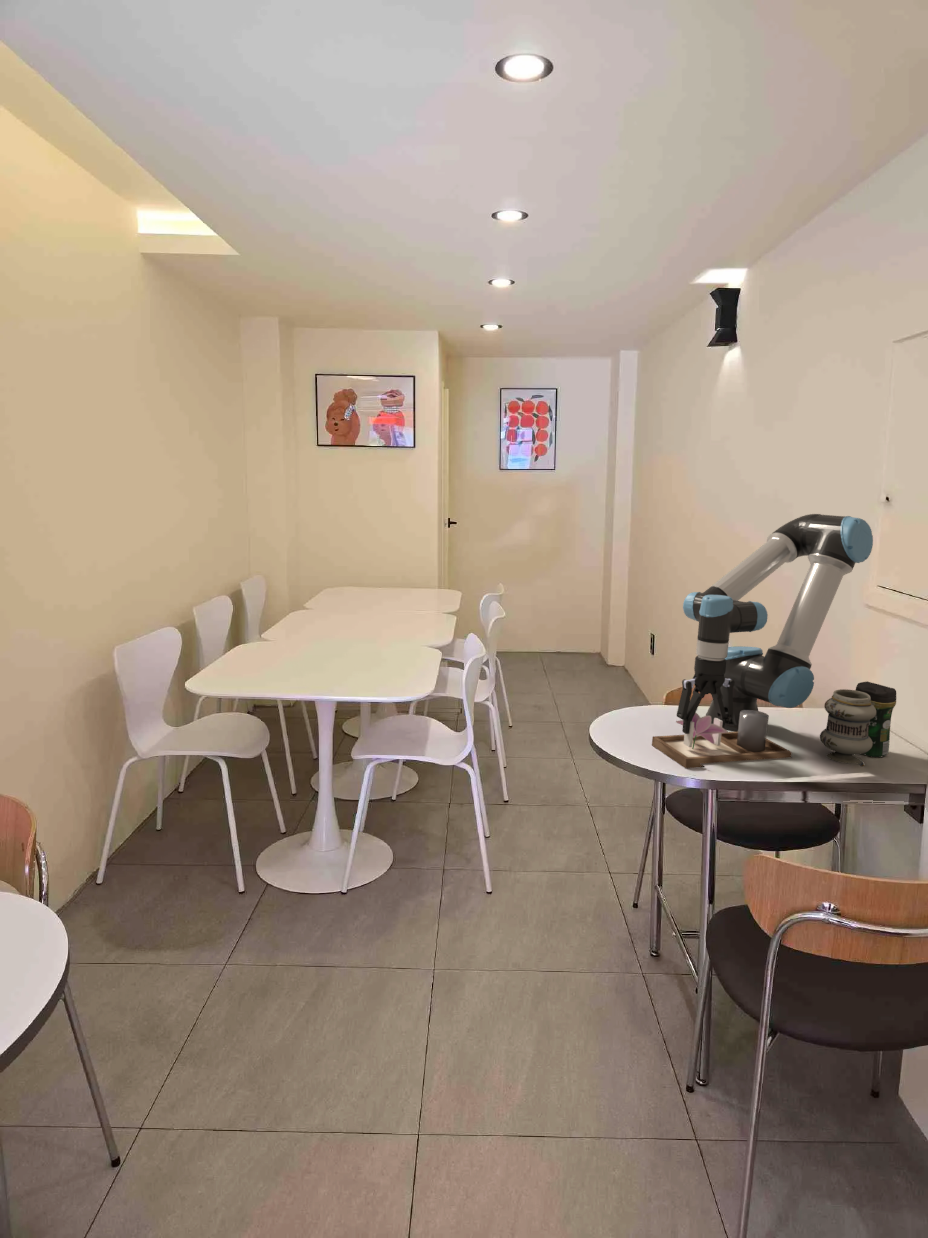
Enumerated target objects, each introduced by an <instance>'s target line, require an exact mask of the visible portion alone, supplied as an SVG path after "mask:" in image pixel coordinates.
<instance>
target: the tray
mask: <svg viewBox="0 0 928 1238" xmlns="http://www.w3.org/2000/svg"><path fill="white" fill-rule="evenodd" d="M737 735H738V732H737V731H728V733H721V742H720V746H717V745H715V744H712V743H711V742H709V741H708V740H707V739H705V738H704V737H702V736H698V737H696V739H695V737H694V738H693V741H692V747H688V746H686V745H685V744H684V734H672V735H657V736H654V735H653V736H652V739H651V740H652V741H651V746H653V747H654V748H655V749H656V750H658V751H659V752H661V753H662V754H664V755H665V756H666V757H668V758H670V760H672V761H674V762H676V763H677V764H678V765H680V766H681V767H683V768H684V769H694V768H695V769H697V768H706V766H705V765H704V764H715V763H716V764H717V763H728V762H729V763H730V762H742V761H743V762H744V761H758V760H759V761H760V760H772V759H787V758H792V753H793V752H792V751H791V750H789V749H787V748H785V747H783V746H781V745H779V744H777V743H776V742H774V741H772V740H770V739H768V738H766V744H765V750H764V751H762V752H750V751H747V750H745V749H744V748H742V747H740V746H738V745H737ZM694 739H695V744H694V749H692V748H693V743H694Z"/></svg>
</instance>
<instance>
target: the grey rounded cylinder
mask: <svg viewBox="0 0 928 1238" xmlns="http://www.w3.org/2000/svg"><path fill="white" fill-rule="evenodd" d="M768 725H769V714H768V713H765V712H764V711H759V710H758V711H755V710H743V711H740V717H739V726H738V735H737V745H738V746H740V747H742V748H744V749H745V750H747V751H750V752H762V751H764V750H765V744H766V739H767V735H768V734H767V733H768Z"/></svg>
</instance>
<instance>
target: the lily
mask: <svg viewBox="0 0 928 1238" xmlns="http://www.w3.org/2000/svg"><path fill="white" fill-rule="evenodd" d="M692 721H693V722H694V731H693V738H694V737H695V739H696V737H698V736H702V737H704V738H705V739H707V740H708V741H709V742H711V743H712V744H714V738H713V736H712V734H717V733H728V732H729V730H725V729H724V728H722V727H720V726H718V725H715V724H711V716H706V715H705V716H700V715H699V714H698V713H697V711H696V712H695V715H694V717H693V719H692ZM675 723H677V724H679V725H680V726H683V720H682V719H680V720H676V721H675ZM695 739H694V743H693V748H692V749H694V744H695Z"/></svg>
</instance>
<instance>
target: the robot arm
mask: <svg viewBox="0 0 928 1238" xmlns="http://www.w3.org/2000/svg"><path fill="white" fill-rule="evenodd" d="M873 536H874V535H873V530H872V529H871V526H870V525H869V523H868V522H867V521H866V520H865V519H862V518H859V517H853V516H850V515H847V516H845V515H843V516H842V515H830V514H829V515H828V514H821V513H812V514H811V513H810V514H805V515H801V516H799V517H796V518H794V519H792V520H790V521H788V522H787V523H785V524H782V526H780V527H778V528H777V529H775V530H774V531H773V532H772V533H771V534H769V535H768V537H767V539H766V542H765V543H763V544H762V545H760V547H758V549H756V550H755V551H754V552H752V553H751V554H750V555H748V556H747V557H746V558H745V559H744V560H742V561H741V562H740V563H738V564H737V565H736V566H734V568H732V569H731V570H730V571H728V572H727V573H726V574H725V575H723V576H722V577H721V578H719V580H717V581H716V582H714V584H712V585H711V586H709V587H708V588H707V589H705V591H702V592H701V591H698V592H697V591H693V592H690V593H688V594H687V595H686V597H684V600H683V603H682V610H683V613H684V615H685V617H686V618H688V619H690V620H693V621H696V622H698V630H697V638H696V648H695V649H696V650H695V654H696V655H697V656H695V659H694V667H693V670H694V674H693V677H692V678H691V679H682V681H681V683H682V684H681V686H682V688H681V689H682V690H681V694H680V699H679V703H678V707H677V711H676V717H677V718H679V719H680V720H683V725H682V728H681V729H682V733H684V734H683V735H684V744H685V745H686V746H688V747H692V741H693V731H694V722H693V721H692V719H693V717H694V715H695V712H696V713H697V711H698V708H699V706H700V704H701V702H702V699H704V698H705V696H706V695H709V694H710V695H711V697H712V700H711V702H710V705H709V707H708V710H707V712H706V713H705V716H711V724H715V725H718V726H720V727H722V728H724V729H725V730H727V731H728V732H738V726H739V717H740V711H743V710H755V711H759V707H758V700H760V701H764V702H767V703H770V704H772V705H773V706H775V707H782V708H787V709H793V708H796V707H798V706H800V705H802V704H803V703H804V702H805V701H807V700H808V698H809V696H810V695H811V693H812V691H813V688H814V686H815V685H814V684H815V681H814V680H815V676H814V673H813V671H812V670H811V668H812V665H813V664H812V662H811V660H810V655H811V652H812V650H813V647H814V646H815V643H816V641H817V638H818V636H819V634H820V631H821V629H822V627H823V624H824V622H825V619H826V617H827V614H828V612H829V610H830V608H831V606H832V603H833V600H834V598H835V596H836V594H837V591H838V589H839V587H840V584H841V582H842V580H843V577H844V576H846V575H847V574H850V573H852V572H853V569H854V567H855V565H856V564H860V563H863V562H865V561H866V560H867V559H869V557H870V555H871V553H872V551H873V545H874V537H873ZM803 556H804V557H805V556H807V560H808V561H809V563H810V566H809V568H808V571H807V573H806V574H805V578H804V580H803V583H802V584H801V587H800V589H799V590H798V594H797V596H796V599H795V601H794V603H793V606H792V608H791V610H790V612H789V615H788V617H787V619H786V622H785V624H784V626H783V629H782V630H781V634H780V636H779V637H778V641H777V643H776V644H775V645H773V646H771V647H768V648H767V651H766V653H765V656H764V651H763V649H762V648H760V647H756V646H741V645H740V646H729V645H730V644H729V642H730V635H731V634H733V633H735V634H736V633H746V632H748V633H752V632H755V631H760V630H762V629H763V628H764V627H765V626H766V624H767V622H768V618H769V617H768V616H769V615H768V611H767V609H766V607H765V605H763V604H762V603H761V602H759V601H751V600H748V601H740V600H741V599H742V598H743V597H745V596H746V595H747V594H748V593H750V592H751V591H752V590H753V589H754V588H755V587H757V586H758V585H759V584H761V583H762V582H763V581H764V580H766V578H769V576H770V575H772V574H773V573H774V572H776V571H777V570H778V569H779V568H781V566H783V565H784V564H785V563H787V564H788V563H792V562H793V561H795V560H796V559H797V558H800V557H803ZM694 686H695V687H694ZM712 736H713V738H714V744H715V745H717V746H720V742H721V733H717V734H712Z"/></svg>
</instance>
